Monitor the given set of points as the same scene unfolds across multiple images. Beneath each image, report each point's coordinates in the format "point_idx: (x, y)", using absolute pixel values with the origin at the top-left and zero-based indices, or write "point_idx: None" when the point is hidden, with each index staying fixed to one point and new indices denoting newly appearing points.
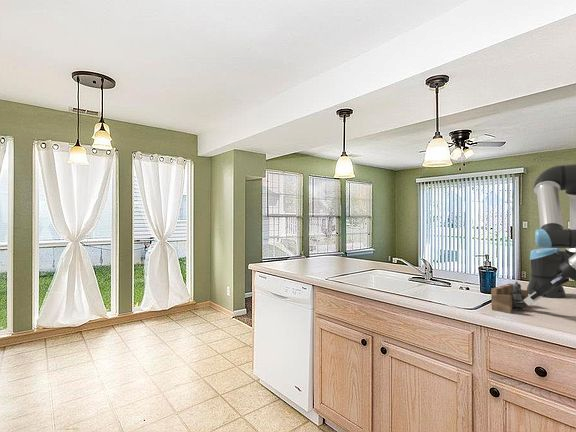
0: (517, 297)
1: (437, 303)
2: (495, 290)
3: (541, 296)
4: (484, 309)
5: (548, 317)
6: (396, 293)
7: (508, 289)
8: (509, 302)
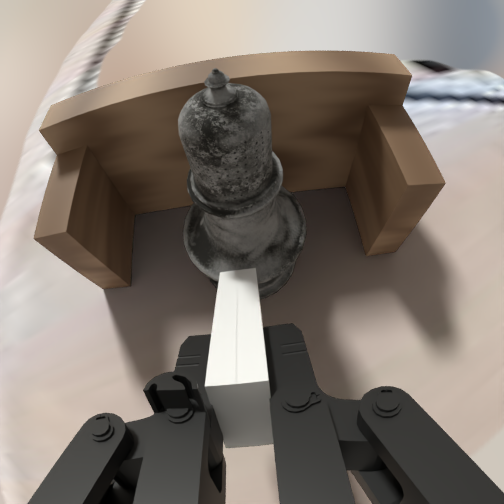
0: (210, 222)
1: (81, 82)
2: (44, 132)
3: (229, 446)
4: None
5: None
6: (130, 12)
7: (270, 101)
8: (64, 257)
